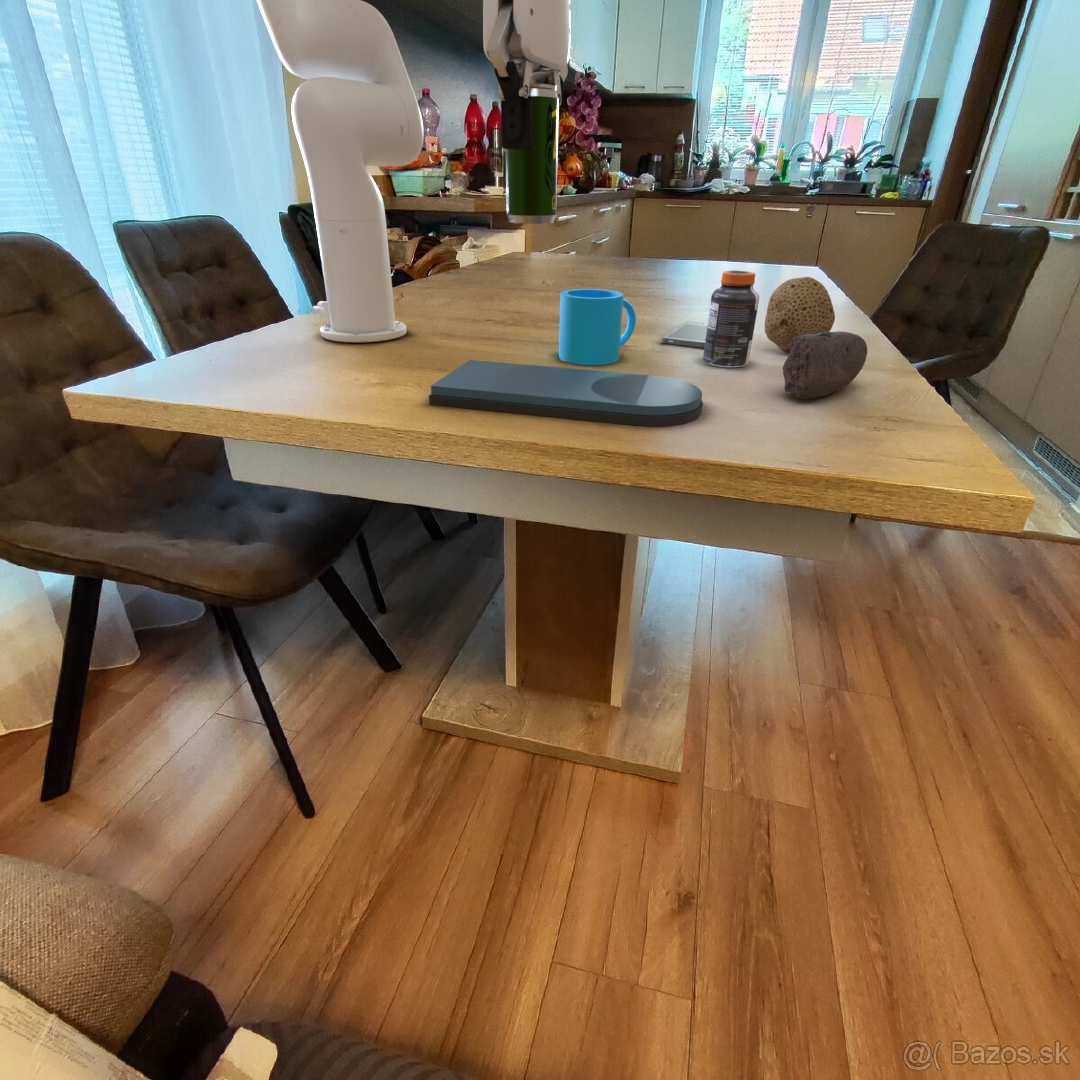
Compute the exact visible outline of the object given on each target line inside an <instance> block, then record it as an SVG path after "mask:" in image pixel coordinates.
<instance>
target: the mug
mask: <svg viewBox="0 0 1080 1080" xmlns="http://www.w3.org/2000/svg"><path fill="white" fill-rule="evenodd" d="M559 295H560V298H559V300H560V301H559V330H558V331H559V332H558V334H559V335H558V358H559V360H561V361H563V362H565V363H568V364H574V365H581V366H604V365H610V364H614V363H616V362H618V361H619V359H620V348H621V347H622V346H624V345H626V343H627V342H628V341H629V340H630V338H631V337H632V336H633V333H634V331H635V328H636V323H637V317H636V312H635V309H634V306H633V305H632V304H631V303H630V302H629V301H628V300H627V299H625V298H624V296H625V295H624V293H623V292H621V291H617V290H610V289H600V288H574V289H566V290H562V291H561V292H560V294H559ZM623 308H624V309H625V311H626V313H627V324H626V328H625V330H624V332H623V334H622V335H621V333H622V322H623Z"/></svg>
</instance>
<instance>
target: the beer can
mask: <svg viewBox="0 0 1080 1080" xmlns="http://www.w3.org/2000/svg"><path fill="white" fill-rule="evenodd" d="M526 99H533V146H532V147H531V148H530V149H505V195H506V196H505V203H506V204H505V206H506V207H505V208H506V210H505V212H506V213H505V214H506V217H507V219H508V222H509V223H510V224H526V225H527V224H529V225H530V224H531V225H532V224H536V225H538V224H540V225H541V224H543V225H544V224H554V222H555V220H556V217H557V211H558V210H557V205H558V201H557V200H558V150H559V149H558V104H559V99H558V96H557V94H556V86H554V85H548V84H543V83H541V84H534V83H531V82H530V89H529V96H528V98H526Z"/></svg>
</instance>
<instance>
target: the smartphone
mask: <svg viewBox="0 0 1080 1080" xmlns="http://www.w3.org/2000/svg"><path fill="white" fill-rule="evenodd" d="M707 325H708V322H702V321H694V320H693V321H692V320H686V321H685V322H683V323H682V324H680V325H678V326H676V327H675V328H674V329H672V330H671V331H669V332H668V333H666V334H665V335H663V336H662V338H661V343H663V344H669V345H670V344H671V345H680V346H687V347H695V348H704V347H705V339H706V332H707Z"/></svg>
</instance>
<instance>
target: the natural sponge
mask: <svg viewBox="0 0 1080 1080" xmlns="http://www.w3.org/2000/svg"><path fill="white" fill-rule="evenodd" d="M835 313H836V312H835V309H834V306H833V302H832V299H831V296H830V294H829V291H828V290H827V288H826V287H825V286H824V284H823V283H821V282H820V281H818V280H817V279H815V278H813V277H811V276H801V277H796V278H790V279H787V280H786V281H784V282H782V283H781V284H780V285H779V286H777V288H775V290H773V292H772V294H771V295H770V297H769V300H768V304H767V309H766V315H765V318H764V333H765V336H766V337H767V339H768V340H769V341H770V342H772V343H773V344H774V345H775V346H776V347H777V348H778V349H779V350H780V351H781V352H785V353H790V351H791V343H792V339H793V338H794V337H798V336H802V335H807V334H813V335H815V334H817V333H821V332H831V331H832V329H833V326H834V323H835V320H836V314H835Z"/></svg>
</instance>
